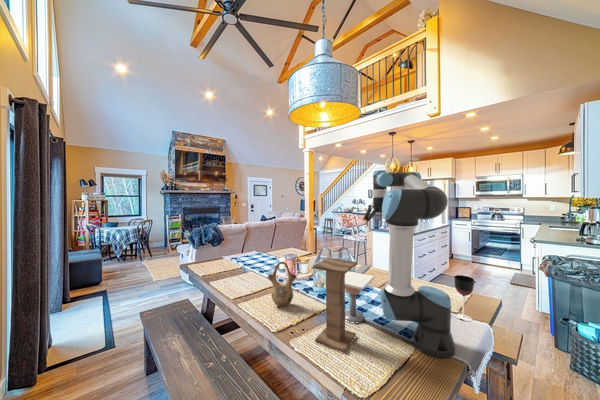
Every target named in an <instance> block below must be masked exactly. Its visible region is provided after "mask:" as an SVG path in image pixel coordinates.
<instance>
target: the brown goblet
mask: <svg viewBox="0 0 600 400" xmlns="http://www.w3.org/2000/svg"><path fill="white" fill-rule="evenodd" d="M361 291H362V290H361V289H356V288H352V287H348V286H345V293H347V294H349V310H345V320H347V321H349V322H354V323H356V322H361V323H362V322H363V321H364V314H363V313H362V312H360V311H358V310H357V295H359V294H360V293H361ZM349 322H348V323H349Z"/></svg>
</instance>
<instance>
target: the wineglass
mask: <svg viewBox="0 0 600 400" xmlns="http://www.w3.org/2000/svg"><path fill="white" fill-rule="evenodd" d="M453 277H454V287H455V290H456V292H457V293H459V294H460V295H461V296H462V313H456V314H457V315H458V316H460V317H463V318H468V319H472V320H473V318H472V317H470V316H468V315H466V314H465V304H466V303H465V300H466V299H465V298H466V297H465V296H469V295H471V294H472V293H473V291H474V286H475V285H474V284H475V283H474V282H475V279H474V277H473V278H472V277H471V276H467V275H464V274H463V275H460V274H457V275H454V276H453Z"/></svg>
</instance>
